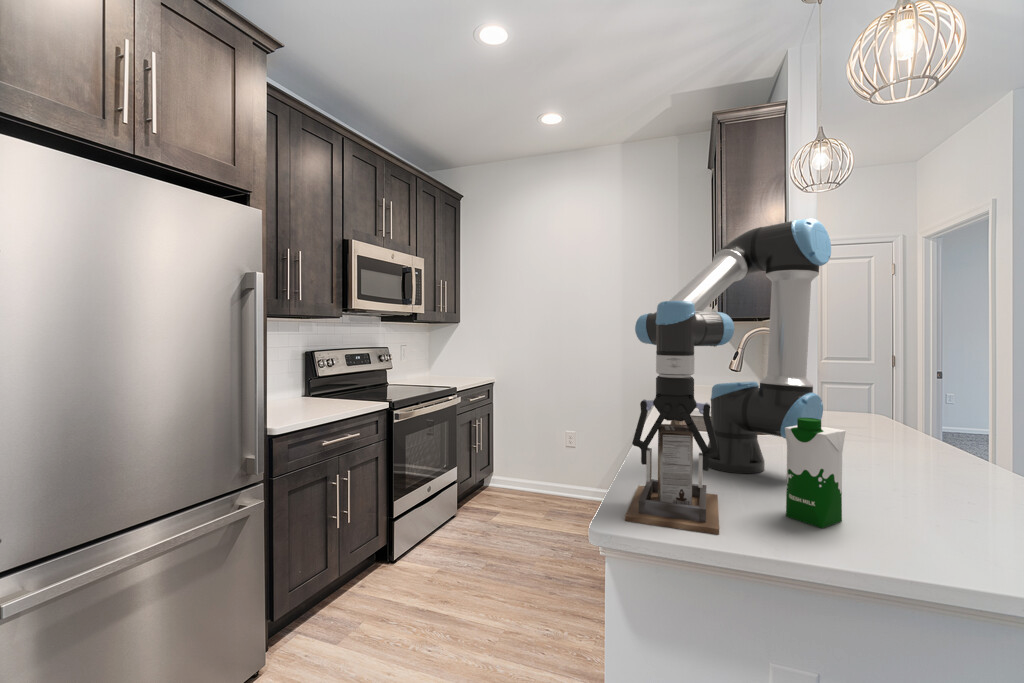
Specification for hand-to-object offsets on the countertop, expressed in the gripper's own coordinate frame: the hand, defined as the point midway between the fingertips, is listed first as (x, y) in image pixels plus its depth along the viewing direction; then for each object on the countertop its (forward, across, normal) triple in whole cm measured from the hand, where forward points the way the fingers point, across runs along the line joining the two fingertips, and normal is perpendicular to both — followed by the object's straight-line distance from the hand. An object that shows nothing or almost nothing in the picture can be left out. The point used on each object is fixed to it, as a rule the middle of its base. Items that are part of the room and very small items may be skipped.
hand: (674, 482), depth 101 cm
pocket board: (+6, 0, 0) cm, 6 cm away
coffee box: (+5, 0, 0) cm, 5 cm away
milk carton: (+6, +26, +5) cm, 27 cm away
